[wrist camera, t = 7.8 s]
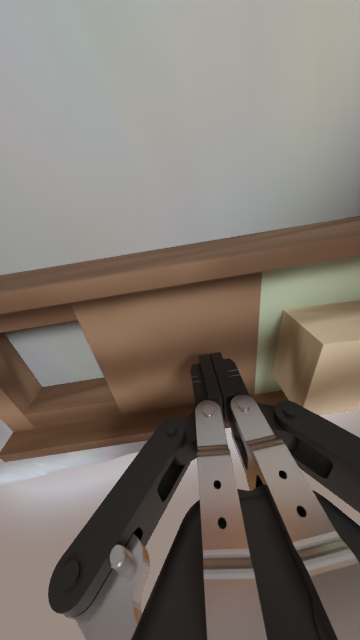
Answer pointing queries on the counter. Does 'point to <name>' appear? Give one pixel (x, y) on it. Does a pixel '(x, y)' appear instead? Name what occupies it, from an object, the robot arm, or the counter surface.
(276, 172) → the counter surface
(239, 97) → the counter surface
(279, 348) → the maple block
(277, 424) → the robot arm
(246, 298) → the walnut track
